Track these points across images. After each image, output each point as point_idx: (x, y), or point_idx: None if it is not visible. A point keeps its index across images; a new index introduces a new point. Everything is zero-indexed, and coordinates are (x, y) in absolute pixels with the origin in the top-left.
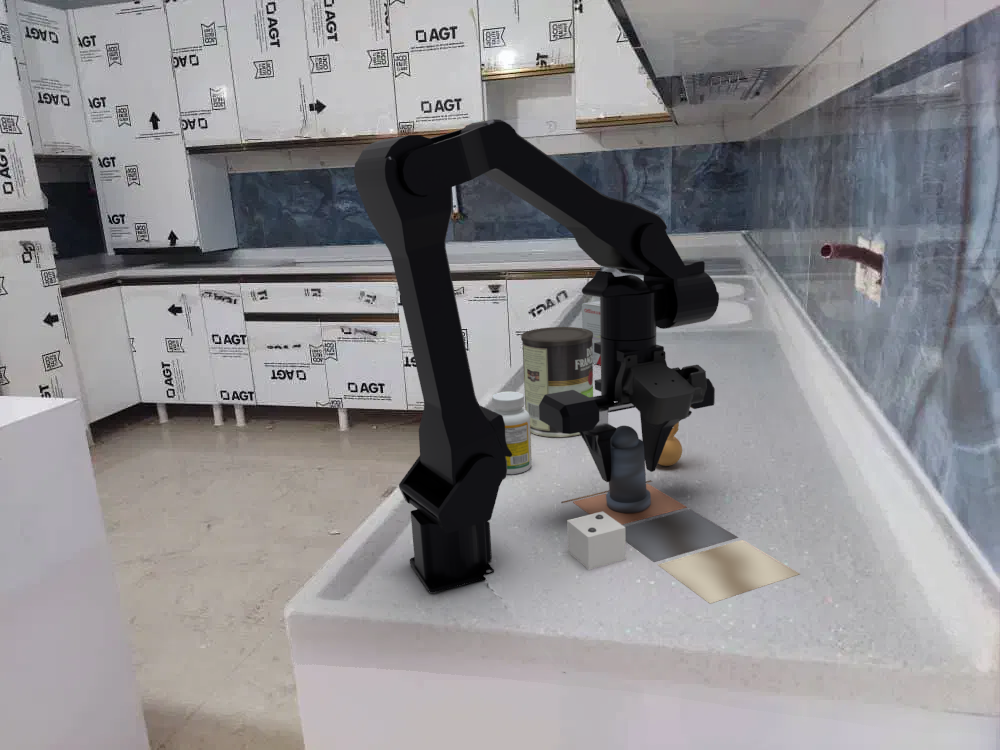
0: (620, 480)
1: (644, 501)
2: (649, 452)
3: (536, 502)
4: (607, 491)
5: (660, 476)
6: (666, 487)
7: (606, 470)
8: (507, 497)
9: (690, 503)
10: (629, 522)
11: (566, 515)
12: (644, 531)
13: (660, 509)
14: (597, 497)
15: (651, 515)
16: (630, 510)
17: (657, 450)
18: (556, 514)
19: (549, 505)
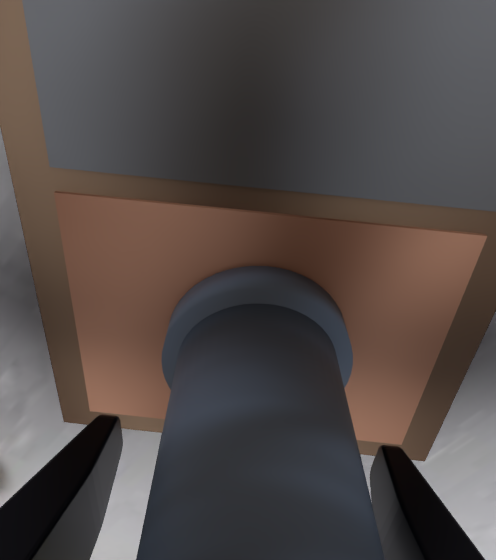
0: (349, 423)
1: (243, 288)
2: (79, 532)
3: (456, 493)
4: None
5: (9, 429)
6: (30, 371)
7: (440, 511)
8: (490, 542)
9: (9, 237)
10: (371, 224)
11: (463, 400)
12: (394, 109)
13: (175, 240)
14: None
15: (247, 218)
16: (312, 286)
17: (36, 527)
18: (481, 420)
19: (444, 465)
